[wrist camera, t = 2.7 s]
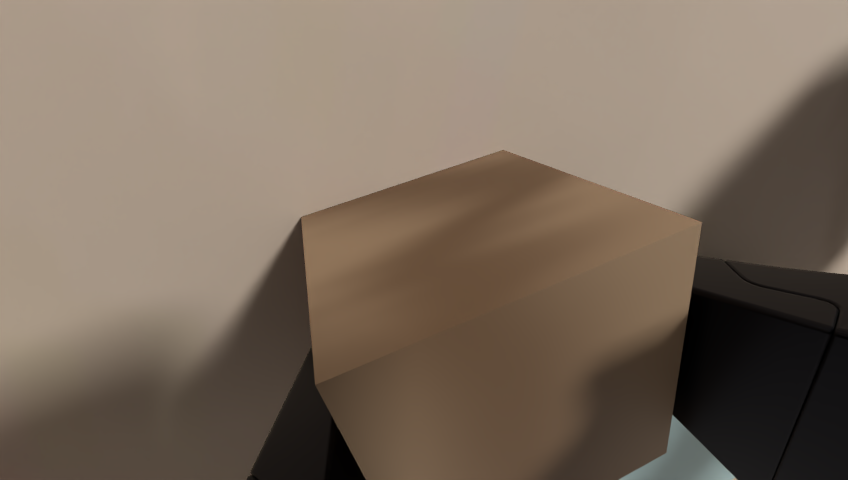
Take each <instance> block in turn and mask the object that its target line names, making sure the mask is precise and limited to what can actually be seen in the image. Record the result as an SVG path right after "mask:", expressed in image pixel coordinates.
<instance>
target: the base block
mask: <svg viewBox="0 0 848 480" xmlns="http://www.w3.org/2000/svg"><path fill="white" fill-rule="evenodd" d="M734 478H735V477H734V476H733V475H732V474H731V473H730V472H729V471H728V470H727V469H726V468H725V467H724V466H723V465H722V464H721V463H720V462H719V461H718V460H717V459H716V458H715V457H714V456H713V455H712V454H711V453H710V452H709V451H708V450H707V449H706V448H705V447H704V446H703V445H702V444H701V443H700V442H699V441H698V440H697V439H696V438H695V437H694V436H693V435H692V434H691V433H690V432H689V431H688V430H687V429H686V428H685V427H684V426H683V425H682V424H681V423H680V422H679V421H678V420H677V419H676V418H675V417H674V416H673V415H672V420H671V427H670V433H669V440H668V446H667V453H666V454H664V455H662V456H660V457H658V458H657V459H655V460H653V461H651V462H649V463H648V464H646V465H644V466H642V467H640V468H639V469H637V470H635V471H633V472H631V473H630V474H628V475H626V476H624V477H622V478H621V479H619V480H732V479H734Z"/></svg>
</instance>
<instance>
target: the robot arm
mask: <svg viewBox="0 0 848 480" xmlns="http://www.w3.org/2000/svg"><path fill="white" fill-rule="evenodd" d="M672 415H673V416H674V417H675V418H676V419H677V420H678V421H679V422H680V423H681V424H682V425H683V426H684V427H685V428H686V429H687V430H688V431H689V432H690V433H691V434H692V435H693V436H694V437H695V438H696V439H697V440H698V441H699V442H700V443H701V444H702V445H703V446H704V447H705V448H706V449H707V450H708V451H709V452H710V453H711V454H712V455H713V456H714V457H715V458H716V459H717V460H718V461H719V462H720V463H721V464H722V465H723V466H724V467H725V468H726V469H727V470H728V471H729V472H730V473H731V474H732V475H733V476H734V477H735V478H736V479H737V480H848V275H847V274H837V273H826V272H817V271H808V270H798V269H789V268H780V267H773V266H765V265H757V264H750V263H743V262H736V261H729V260H726V261H723V260H721V259H714V258H707V257H700V256H697V259H696V265H695V272H694V278H693V285H692V291H691V298H690V304H689V311H688V317H687V323H686V330H685V336H684V343H683V349H682V356H681V362H680V369H679V375H678V382H677V388H676V394H675V401H674V407H673V414H672ZM251 474H252V475H250V476H249V477H248V478H247V480H366V479H365V477H364V475H363V473H362V472H361V470H360V468H359V466H358V464H357V462H356V460H355V458H354V457H353V455H352V453H351V451H350V449H349V447H348V445H347V443H346V442H345V440H344V438H343V436H342V434H341V432H340V430H339V429H338V427H337V425H336V423H335V421H334V419H333V417H332V415H331V414H330V412H329V410H328V408H327V406H326V404H325V402H324V401H323V399H322V397H321V395H320V393H319V391H318V389H317V387H316V386H315V377H314V365H313V353H312V347H311V349H310V351H309V353H308V355H307V357H306V359H305V361H304V363H303V365H302V367H301V369H300V371H299V374H298V376H297V378H296V380H295V382H294V384H293V386H292V388H291V390H290V392H289V394H288V396H287V398H286V400H285V402H284V404H283V406H282V408H281V411H280V413H279V415H278V417H277V419H276V421H275V423H274V425H273V427H272V429H271V431H270V433H269V435H268V437H267V439H266V441H265V443H264V446H263V448H262V450H261V452H260V454H259V456H258V458H257V460H256V462H255V464H254V466H253V468H252V470H251Z"/></svg>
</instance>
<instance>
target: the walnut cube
mask: <svg viewBox="0 0 848 480" xmlns="http://www.w3.org/2000/svg"><path fill="white" fill-rule="evenodd" d="M301 222H302V234H303V246H304V258H305V270H306V281H307V293H308V305H309V317H310V329H311V341H312V353H313V365H314V377H315V386H316V387H317V389H318V391H319V393H320V395H321V397H322V399H323V401H324V402H325V404H326V406H327V408H328V410H329V412H330V414H331V415H332V417H333V419H334V421H335V423H336V425H337V427H338V429H339V430H340V432H341V434H342V436H343V438H344V440H345V442H346V443H347V445H348V447H349V449H350V451H351V453H352V455H353V457H354V458H355V460H356V462H357V464H358V466H359V468H360V470H361V472H362V473H363V475H364V477H365V479H366V480H619V479H621V478H622V477H624V476H626V475H628V474H630V473H631V472H633V471H635V470H637V469H639V468H640V467H642V466H644V465H646V464H648V463H649V462H651V461H653V460H655V459H657V458H658V457H660V456H662V455H664V454H666V453H667V446H668V440H669V433H670V427H671V420H672V414H673V407H674V401H675V394H676V388H677V382H678V375H679V369H680V362H681V356H682V349H683V343H684V336H685V330H686V323H687V317H688V311H689V304H690V298H691V291H692V285H693V278H694V272H695V265H696V259H697V252H698V246H699V240H700V233H701V227H702V222H700V221H698V220H695V219H692V218H689V217H686V216H684V215H681V214H678V213H675V212H673V211H670V210H667V209H664V208H662V207H659V206H656V205H653V204H651V203H648V202H645V201H642V200H640V199H637V198H634V197H631V196H629V195H626V194H623V193H620V192H617V191H615V190H612V189H609V188H606V187H604V186H601V185H598V184H595V183H593V182H590V181H587V180H584V179H582V178H579V177H576V176H573V175H571V174H568V173H565V172H562V171H560V170H557V169H554V168H551V167H549V166H546V165H543V164H540V163H537V162H535V161H532V160H529V159H526V158H524V157H521V156H518V155H515V154H513V153H510V152H507V151H504V150H502V151H499V152H496V153H493V154H490V155H487V156H484V157H481V158H478V159H475V160H472V161H469V162H466V163H463V164H460V165H457V166H454V167H451V168H448V169H445V170H442V171H439V172H436V173H433V174H430V175H427V176H424V177H421V178H418V179H415V180H412V181H409V182H405V183H402V184H399V185H396V186H393V187H390V188H387V189H384V190H381V191H378V192H375V193H372V194H369V195H366V196H363V197H360V198H357V199H354V200H351V201H348V202H345V203H342V204H339V205H336V206H333V207H330V208H327V209H324V210H321V211H318V212H315V213H312V214H309V215H306V216H303V217H301Z"/></svg>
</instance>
